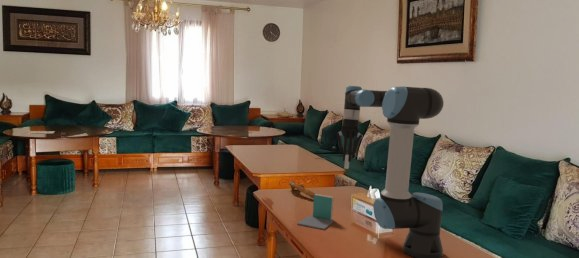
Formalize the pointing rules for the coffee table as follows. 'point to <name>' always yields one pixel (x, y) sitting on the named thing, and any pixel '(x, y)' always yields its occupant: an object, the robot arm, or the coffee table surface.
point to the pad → (315, 222)
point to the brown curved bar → (301, 189)
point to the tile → (323, 206)
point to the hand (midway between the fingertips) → (346, 168)
